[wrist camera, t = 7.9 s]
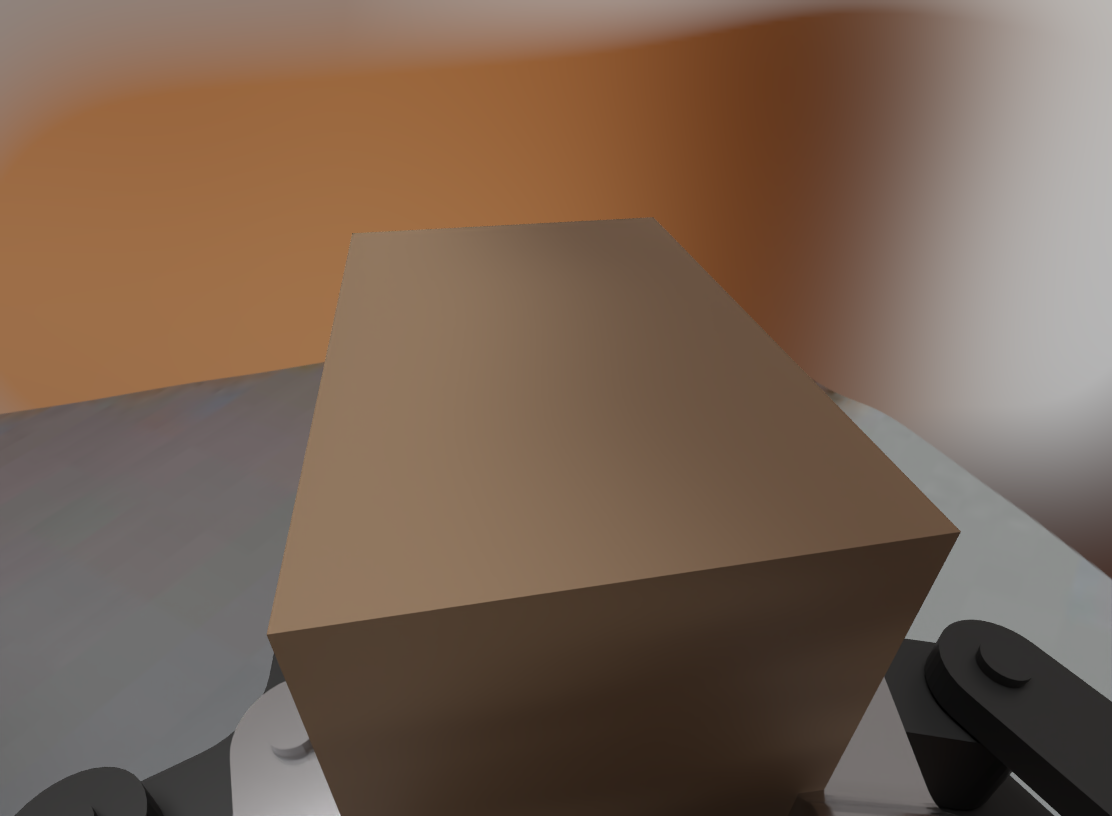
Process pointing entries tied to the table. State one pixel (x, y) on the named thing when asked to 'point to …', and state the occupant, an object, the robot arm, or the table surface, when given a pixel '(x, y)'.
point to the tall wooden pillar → (582, 538)
